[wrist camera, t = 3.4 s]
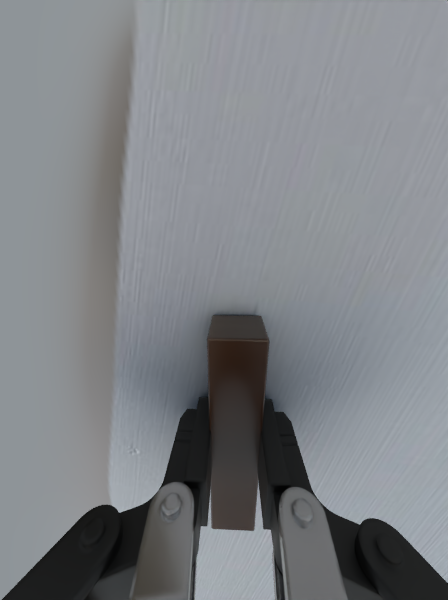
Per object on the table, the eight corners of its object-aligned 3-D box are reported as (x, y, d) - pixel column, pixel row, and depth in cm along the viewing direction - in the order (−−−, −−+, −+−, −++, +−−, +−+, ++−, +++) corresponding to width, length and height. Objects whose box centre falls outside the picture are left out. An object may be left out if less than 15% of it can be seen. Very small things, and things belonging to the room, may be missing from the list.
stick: (214, 481, 12) (211, 529, 10) (212, 314, 9) (206, 338, 7) (250, 483, 12) (254, 531, 10) (261, 315, 9) (270, 339, 7)
